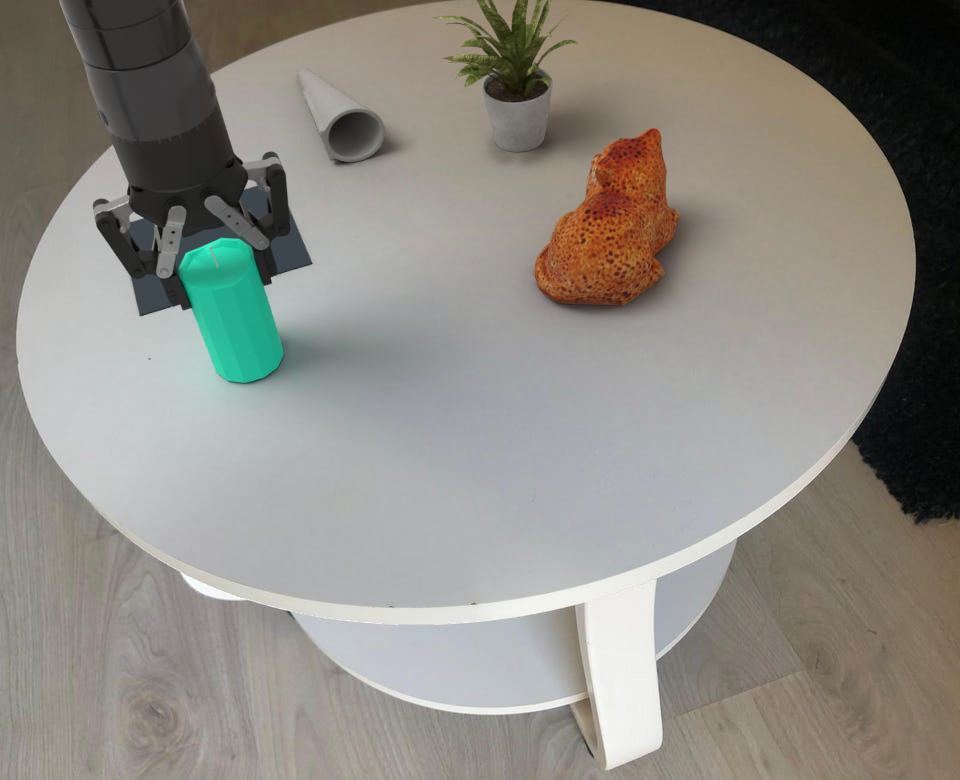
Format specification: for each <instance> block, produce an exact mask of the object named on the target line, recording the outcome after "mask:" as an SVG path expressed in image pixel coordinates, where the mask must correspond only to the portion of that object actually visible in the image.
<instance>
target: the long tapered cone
mask: <svg viewBox="0 0 960 780" xmlns="http://www.w3.org/2000/svg"><path fill="white" fill-rule="evenodd" d="M295 72H296V73H295V74H296V75H295V76H296V78H297V80H298V82H299V84H300V87H301V90H302V93H303V96H304V100H305V103H306V104H307V107H308V110H309V112H310V114H311V116H312V119H313V122H314V124H315V126H316V129H317V131H318V134H319V137H320V140H321V142H322V144H323V146H324V149H325V151H326V154H327V156H328V158H329V160H330V161H334V160H338V161H341V162H344V163H345V162H346V163H356V162H361V161H364V160H366V159H368V158H370V157H372V156H373V155H374V154H375V153H377V151H378V150H379V149H380V148H381V146H382V145H383V143H384V140H385V136H386V126H385V123H384V121H383V119H382V118H381V117H380V115H378V113H376V112H375V111H374V110H372V109H370V108H369V107H367V106H366V105H364V104H363V103H361V102H359V101H358V100H356V99H355V98H354V97H352V96H350V95H349V94H347V93H346V92H344V91H343V90H341V89H340V88H338V86H335V85H334V84H332V83H331V82H329V81H328V80H327V79H325V78H323V77H322V76H321V75H319V74H318V73H316V72H315V71H313V70H311V69H309V68H308V67H306V66H304V65H300V66H298V67H297V68H296V71H295Z"/></svg>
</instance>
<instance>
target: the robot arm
mask: <svg viewBox="0 0 960 780" xmlns="http://www.w3.org/2000/svg"><path fill="white" fill-rule="evenodd" d="M58 1H59V4H60V7H61V10H62V13H63V15H64V19H65V21H66V23H67V25H68V28H69V31H70V33H71V35H72V38H73V40H74V43H75V45H76V48H77V50H78V53H79V55H80V57H81V60H82V63H83V66H84V71H85V75H86V78H87V83H88V87H89V90H90V92H91V95H92V97H93V100H94V102H95V105H96V107H97V108H96V110H97V115H98V116H99V117H98V118H99V119H100V120H101V122H102V124H103V125H104V126H105V129H106V131H107V134H108V136H109V139H110V141H111V144H112V146H113V149H114V151H115V153H116V157H117V158H118V161H119V163H120V166H121V168H122V170H123V173H124V175H125V177H126V180H127V183H128V186H127V189H126V195H123V196H121V197H119V198H116V199H114V200H111V201H109V200H107V199H106V198H98V199H96V200H94V201H93V203H92V209H93V216H94V221H95V225H96V229H97V230H98V231H99V233H100V235H101V236H102V238H103V239H104V240H105V242H106V244H107V245H108V247H110V249H111V250H112V252H113V253H114V254H115V257H116V258H117V259H118V260H119V262H120V263H121V265H122V266H123V268H124V269H125V271H126V273H127V274H128V275H129V276H130V278H131V277H132V278H134V279H141V278H143V277H144V276H145V275H155V276H157V277H159V279H160V280H161V283H162V285H163V287H164V290H165V292H166V295H167V297H168V299H169V302H170V303H171V304H172V305H173V306H172V307H177V306H180V308H181V310H182V311H187V310H192V309H191V308H192V307H191V305H190V302H189V300H188V297H187V295H186V292H185V290H184V287H183V285H182V282H181V280H180V276H179V270H178V267H177V265H176V262H175V257H176V255H177V254H178V251H179V246H180V240H181V235H183V238H185V237H188V236H192V235H195V234H196V233H198V232H200V231H202V230H206V229H216V228H220V227H223V226H225V224H226V225H227V226H229V227H230V228H231V229H232V230H233V231H234V232H235V233H236V234H237V235H239V236H243V237H244V238H245V239H246V240H247V241H248V242H249V243H250V245H251V248H252V251H253V254H254V257H255V260H256V263H257V266H258V270H259V273H260V276H261V279H262V282H263V285H264V287H266V286H269V285H270V286H271V285H272V284H273V281H272V278H274V277H275V276H276V277H277V276H278V274H277V266H276V263H275V260H274V256H273V253H272V250H271V242H272V240H273V239H274V238H276V237H277V236H280V237H283V236H286V235H288V234H289V232H290V218H289V210H290V208H289V195H288V184H287V174H286V171H285V169H284V165H282V161H281V159H280V158H279V157H280V156H279V155H278V154H277V153H276V152H275V151H271V150H270V151H266V152H265V153H264V154H263V155H262V157H261V159H260V160H254V161H245V162H244V161H243V160H242V159H241V158H240V157H239V156H237V155H236V153H235V152H234V149H233V145H232V141H231V139H230V136H229V132H228V129H227V125H226V123H225V119H224V116H223V112H222V109H221V107H220V103H219V100H218V96H217V90H216V85H215V83H214V81H213V79H212V76H211V73H210V70H209V67H208V64H207V61H206V58H205V56H204V54H203V51H202V49H201V47H200V45H199V43H198V41H197V39H196V37H195V34H194V31H193V28H192V26H191V22H190V19H189V15H188V12H187V10H186V6H185V2H184V0H58ZM248 181H252V182H255V183H256V186H258V188H259V189H260V190H262V191H265V192H266V202H267V212H268V214H267V215H265V216H263V217H262V218H260V219H259V218H258V217H256V216H255V215H254V214H253V213H252V212H251V211H250V210H249V209H248V208H247V207H246V205H245V204H244V202H243V201H242V200H241V199H240V198H241V196H242V193H243V191H244V189H246V187H247V184H248ZM133 213H135V214H136V215H138V216H140V217H141V218H142V219H143V218H145V219H146V220H148V221H150V222H152V223H153V224H154V240H153V246H152V250H141V249H140V248H139V246H138V245H137V243H136V242H135V240H134V239H133V237H132V236H131V234H130V233H129V231H128V229H129V228H130V225H131V224H130V222H131V219H130V216H131V215H132V214H133ZM224 223H225V224H224Z"/></svg>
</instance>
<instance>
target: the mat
mask: <svg viewBox="0 0 960 780" xmlns="http://www.w3.org/2000/svg"><path fill="white" fill-rule="evenodd" d="M240 199H241V200H242V201H243V202H244V204H245V205H246V207H247V208H248V209H249V210H250V211H251V212H252V213H253V214H254V215H255V216H256V217H258V218H259V219H260V218H262V217H263V216H265V215H267V214H268V212H267V202H266V192H265V191H262V190H260V189H259V188H258V186H257V185H256V186H251V187H248V188H245V189H244V191H243V193H242V196H241V198H240ZM289 218H290V232H289V234H288V235H286V236H283V237H280V236H277V237H276V238H274V239H273V240H272V242H271V250H272V253H273V256H274V260H275V263H276V266H277V275H279V274H283V273H286V272H289V271H292V270H296V269H299V268H303V267H305V266H308V265H311V264H313V263H312V260H311V258H310V255H309V253H308V251H307V248H306V246H305V244H304V241H303V238H302V237H301V234H300V232H299V228H298V227H297V225H296V222H295V220H294V217H293V215H292V213H291V210H290V209H289ZM130 224H131V225H130V228H129V229H128V231H129V233H130V234H131V236H132V237H133V239H134V240H135V242H136V243H137V245H138V246H139V248H140V249H141V250H152V246H153V240H154V224H153V223H152V222H150V221H148V220H146V219H145V218H143V217H142V218H140V219H137V220H133V221H130ZM224 224H225V223H224ZM220 238H232V239H240V240H242V241H243V242H245V243H246V244H248V245H249V246H251V245H250V243H249V242H248V241H247V240H246V239H245V238H244V237H243V236H239V235H237V234H236V233H235V232H234V231H233V230H232V229H231V228H230V227H229V226H227V225H226V224H225V226H223V227H220V228H216V229H206V230H202V231H200V232H198V233H196V234H195V235H192V236H188V237H185V238H183V235H181V240H180V246H179V251H178V254H177V255H176V257H175V262H176V265H177V267H178V270H179V267H180V265H181V263H182V260H183V258H184V256H185V254H186V253H187V252H190V251H192V250H195V249H197V248H200V247H202V246H204V245H207V244H209V243H211V242H213V241H216V240H218V239H220ZM130 280H131V284H132V288H133V292H134V297H135V301H136V305H137V310H138V315H139V317H141V316H144V315H148V314H151V313H154V312H157V311H161V310H164V309H167V308H171V307H174V306H173V305H172V304H171V303H170V302H169V299H168V297H167V295H166V292H165V290H164V287H163V285H162V283H161V280H160V279H159V277H157V276H155V275H145V276H144V277H143V278H141V279H134V278H132V277H131V276H130Z"/></svg>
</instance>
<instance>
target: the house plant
mask: <svg viewBox="0 0 960 780" xmlns="http://www.w3.org/2000/svg"><path fill="white" fill-rule="evenodd" d="M486 1H487V2H486ZM476 2H477V3H478V5H479V8H480V10H481V12H482V13H483V15H484V17H485V19H486V20H487V22H488V23H489V25H490V27H491V29H492V30H493V32H494V34H495V36H496V37H497V39H495V38H494V37H493V36H492V35H491V34H490V33H489V32H488V31H487V30H486V29H484V28H483V27H482V26H481V25H479V24H478V23H477V22H475V21H474V20H472V19H469V18H467V17H465V16H462V15H439V16H435V17H433V19H438V20H439V19H440V20H441V19H442V20H455V21H461V22H448V23H447V25H461V26H465V27H467V29H469V30H470V31H471V34H473V35H474V37H473V38H471V39H468V40H466V41H464V42H463V43H462V44H461V46H460V48H468V47H472V48H479V49H482V51H483V52H484V53H485V54H475V53H474V54H473V53H465V54H455V55H450V56H445V57H442V58H441V60H445V61H446V60H447V61H448V62H447V63H450V64H451V63H453V64H455V63H459V64H460V63H461V64H466V65H465V66H464V67H462V68H461V69H460V71H459V72H458V74H457V75H456V77H455V79H454V80H457V78H459V77H462V76H466V75H467V77H466V80H465V82H464V85H463V89H462V91H464V90H465V89H466V88H467V87H469V86H471V85H473V84H475V83H477V82H478V81H480V80H482V79H483V80H482V81H481V85H480V86H481V87H480V89H481V93H482V96H483V100H484V104H485V107H486V112H487V116H488V120H489V123H490V127H491V131H492V135H493V139H494V142H495V144H496V145H497V146H498V147H499V148H500V149H502V150H504V151H507V152H510V153H511V152H512V153H525V152H528V151H532V150H534V149H536V148H539V146H541V145H542V144H543V142H544V141H545V136H546V133H547V132H546V131H547V125H548V118H549V110H550V106H551V105H550V104H551V99H552V98H551V97H552V92H553V86H554V85H553V84H554V83H553V78H552V77H551V75H550V74H549V73H548V72H547V71H546V70H544V69H542V68H541V67H540V64H541V62H542V61H543V59H545V57H546V56H548V54H550V53H552V52H553V51H554V50H556V49H559V48H561V47H564V46H567V45H571V44H576V45H579V46H581V48H582V45H581V44H580V43H579V42H578V41H576V40H574V39H564V40H561V41H559V42H557V43H556V44H554V45H553V46H551V47H549V48H548V49H547V50H546V51H545V52H544V53H543V54H542V55H541V57H540V58H539V60H538V61H537V62H536V61H535V59H536V58H537V55H538V53H539V51H540V50H541V48H542V46H543V44H544V43H545V41H546V40H547V38H548V37H551V38H552V32H554V30H556V28H557V27H558V26H559V24H560V23H561V22H562V21H563V20H565V18H567V17H568V16H569V15H570V14H571V13H572V11H571V12H570V13H568V14H567V15H566V16H564V17H563V18H561V19H559V21H558V22H557V23H556V25H554V26H553V28H551V30H550V31H548V33H546V34H545V35H543V36H540V34H541V31H542V28H543V26H544V24H545V21H546V20H547V16H548V14H549V12H550V7H551V3H552V0H546V1H545V2H544V5H543V0H536V3H535V6H534V10H533V13H532V16H531V20H530V23H527V13H528V12H527V11H528V4H529V0H516V2H515V5H514V8H513V11H512V16H511V29H510V27H509V24H508V23H507V22H506V20H505V18H503V17H502V15H501V14H499V12H498V10H497V7H496V5H495V3H494V1H493V0H476ZM487 3H488V4H487ZM488 5H489V6H490V7H489V6H488ZM542 6H543V7H542ZM541 9H542V10H541ZM540 12H541V13H540ZM538 17H539V18H538ZM537 21H538V22H537ZM473 26H474V27H473ZM478 29H479V30H480V31H481V32H482V33H484V34H485V35H486V36H483V35H482V33H481V32H480V31H479V30H478ZM487 42H489V43H490V44H491V45H490V44H488V43H487ZM493 47H494V48H495V49H494V48H493Z"/></svg>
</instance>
